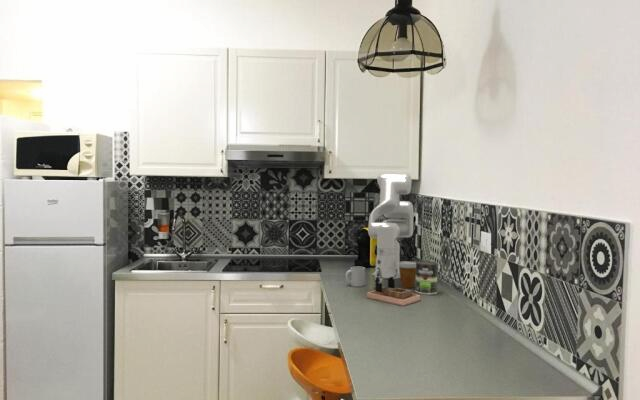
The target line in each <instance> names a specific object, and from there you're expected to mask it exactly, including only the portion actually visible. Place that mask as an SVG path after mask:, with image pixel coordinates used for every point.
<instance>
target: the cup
mask: <svg viewBox="0 0 640 400" xmlns="http://www.w3.org/2000/svg"><path fill="white" fill-rule="evenodd" d="M349 276H350V278H349ZM365 279H366V267H364V266H357V265H356V266H351V267H350V269H348V270H347V271H346V273H345V282H346V283H348V284H350V286H351V287H355V288H357V287H358V288H361V287H364V286H365V285H366V280H365Z"/></svg>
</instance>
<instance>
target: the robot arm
mask: <svg viewBox="0 0 640 400" xmlns="http://www.w3.org/2000/svg"><path fill="white" fill-rule="evenodd" d="M376 179H377V185H378V186H379V189H380V191H379V193H380V195H379V203H378V204H377V206H375V207H374V209H372V211H371V212H370V214H369V218H368V226H367V227H368V230H367V233H368V236H369V238H371V239H376V242H377V243H376V246H377V247H376V261H375V271H374V272H373V273H372V277H373V281H374V283H375V285H374V287H375V289H374V291H377V292H382V286H383V283H382V281H383V279H387V287H389V288H395V280H396V279H400V270H399V266H398V264H399V262H400V259H401V258H400V257H401V256H400V252H401V251H400V250H401V248H400V243H399V241H398V240H397V238H410V237H412V236H413V233H414V206H413V203H412V202H411V201H407V200H400V195H409V194H410V193H411V190H412V181H413V179H412V177H411V175H410V174H408V173H380V174H378V176H377V177H376ZM381 216H384V217H385V218H387V219H385V220H383V221H381V222H376V220H377V219H378V218H379V217H381ZM378 278H380V280H379V279H378Z"/></svg>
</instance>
